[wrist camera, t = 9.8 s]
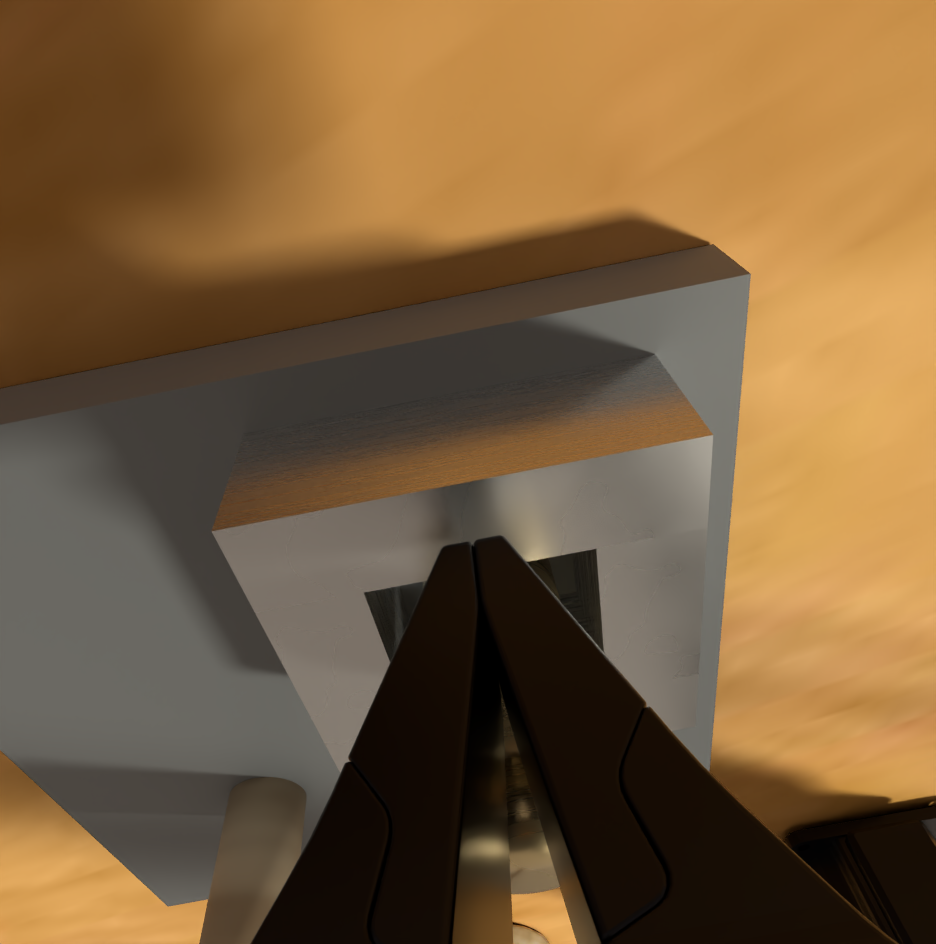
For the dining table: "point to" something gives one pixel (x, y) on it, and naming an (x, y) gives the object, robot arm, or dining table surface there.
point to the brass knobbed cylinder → (526, 802)
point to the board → (207, 570)
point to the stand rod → (253, 857)
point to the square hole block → (478, 525)
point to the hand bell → (527, 936)
